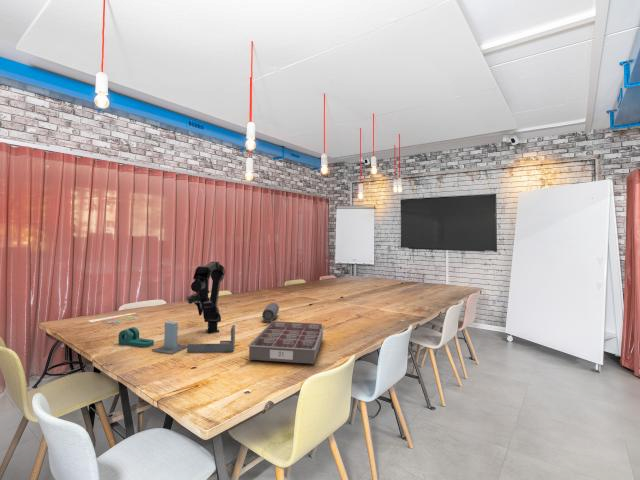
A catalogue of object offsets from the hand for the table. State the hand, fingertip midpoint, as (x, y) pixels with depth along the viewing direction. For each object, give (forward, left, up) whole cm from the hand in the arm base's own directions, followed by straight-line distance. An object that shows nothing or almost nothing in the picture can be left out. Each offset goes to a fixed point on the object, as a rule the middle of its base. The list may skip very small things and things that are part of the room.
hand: (202, 317), depth 185 cm
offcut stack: (+22, +6, -13) cm, 26 cm away
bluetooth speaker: (-24, +54, -13) cm, 61 cm away
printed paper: (-69, -33, -14) cm, 77 cm away
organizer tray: (+38, +34, -13) cm, 53 cm away
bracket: (-10, -30, -13) cm, 35 cm away
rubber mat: (+6, -17, -13) cm, 23 cm away
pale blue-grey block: (+6, -17, -12) cm, 22 cm away
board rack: (+18, 0, -13) cm, 23 cm away
